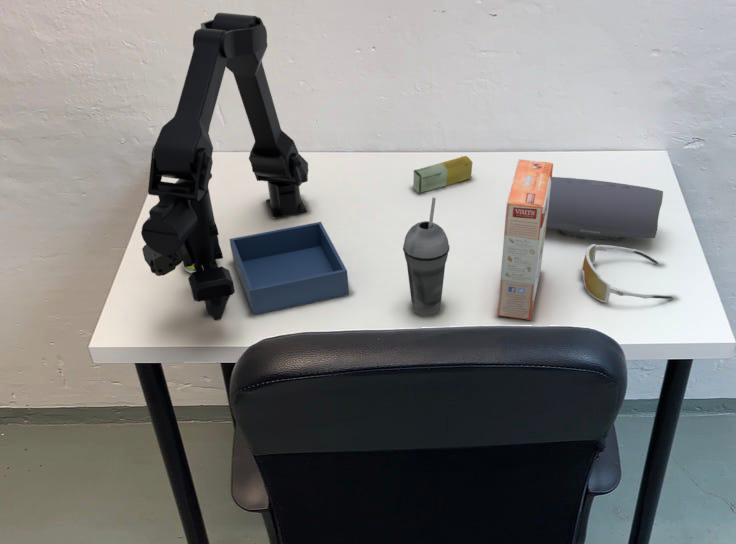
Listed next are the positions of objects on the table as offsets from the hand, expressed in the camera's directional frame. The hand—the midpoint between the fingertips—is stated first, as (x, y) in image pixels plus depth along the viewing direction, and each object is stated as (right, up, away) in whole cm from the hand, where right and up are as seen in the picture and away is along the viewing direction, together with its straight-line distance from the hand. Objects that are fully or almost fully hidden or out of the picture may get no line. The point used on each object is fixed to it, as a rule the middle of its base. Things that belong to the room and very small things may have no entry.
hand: (212, 303), depth 144 cm
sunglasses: (+68, +4, +7) cm, 69 cm away
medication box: (+38, +28, +31) cm, 56 cm away
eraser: (0, -1, +1) cm, 2 cm away
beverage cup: (+35, -1, +2) cm, 35 cm away
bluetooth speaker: (+65, +15, +18) cm, 69 cm away
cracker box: (+51, +2, +5) cm, 51 cm away
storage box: (+11, +6, +8) cm, 15 cm away
